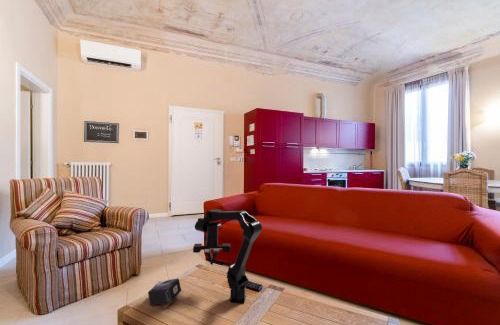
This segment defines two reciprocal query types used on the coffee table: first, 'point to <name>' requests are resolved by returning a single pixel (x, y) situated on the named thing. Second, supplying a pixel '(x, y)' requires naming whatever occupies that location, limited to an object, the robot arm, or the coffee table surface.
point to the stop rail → (165, 305)
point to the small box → (164, 291)
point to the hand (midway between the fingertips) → (211, 264)
